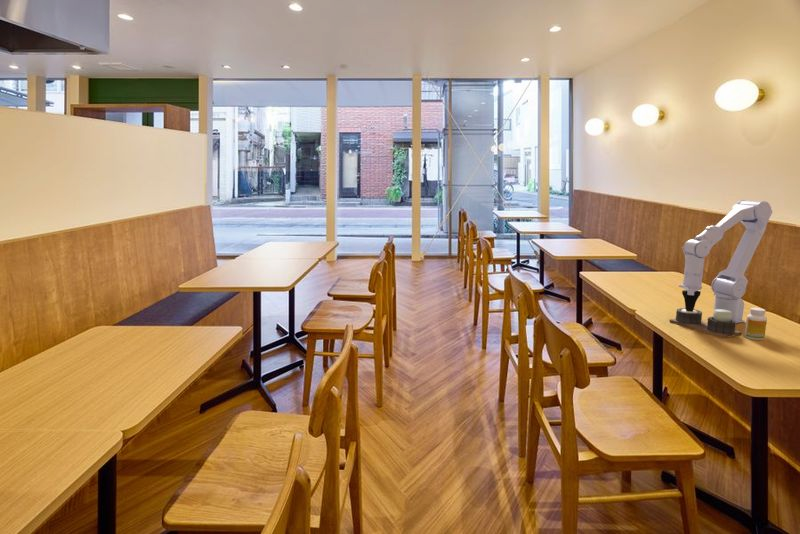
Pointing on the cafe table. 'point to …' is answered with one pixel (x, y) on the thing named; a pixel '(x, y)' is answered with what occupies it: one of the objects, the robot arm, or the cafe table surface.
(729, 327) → the collar board
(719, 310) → the peg sage
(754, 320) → the supplement bottle
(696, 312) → the peg cream
